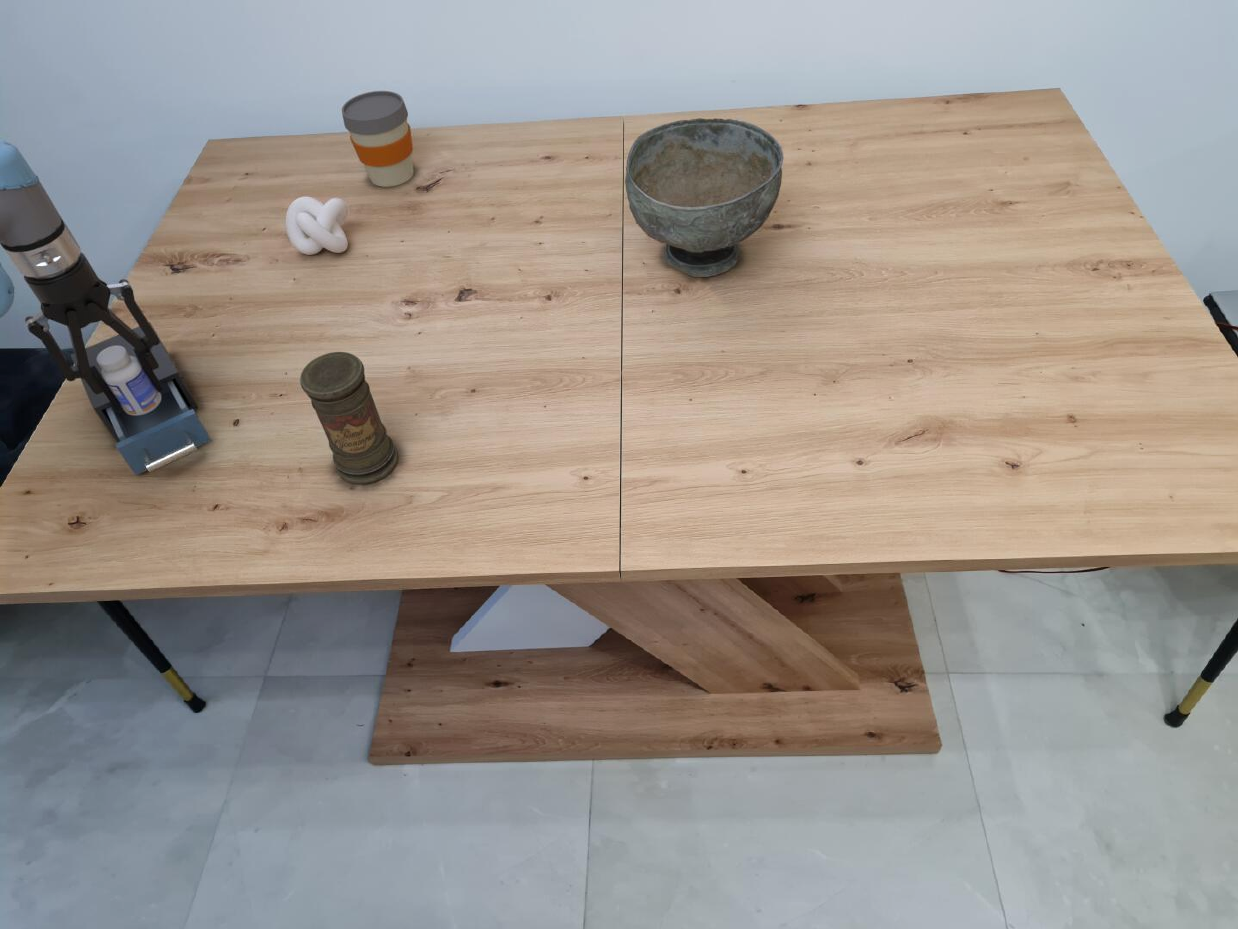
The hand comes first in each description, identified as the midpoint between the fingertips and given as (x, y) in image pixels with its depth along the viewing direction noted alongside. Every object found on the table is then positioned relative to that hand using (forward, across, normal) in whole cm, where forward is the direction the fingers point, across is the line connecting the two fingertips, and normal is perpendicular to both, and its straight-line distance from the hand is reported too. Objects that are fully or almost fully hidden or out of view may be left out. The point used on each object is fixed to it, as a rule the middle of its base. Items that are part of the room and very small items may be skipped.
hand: (137, 395), depth 131 cm
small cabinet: (+9, 0, +12) cm, 15 cm away
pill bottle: (+2, 0, 0) cm, 2 cm away
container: (+10, +23, -24) cm, 35 cm away
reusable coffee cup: (+10, +61, +48) cm, 78 cm away
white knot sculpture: (+10, +40, +32) cm, 52 cm away
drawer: (+8, 0, -1) cm, 8 cm away
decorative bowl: (+10, +92, -16) cm, 94 cm away
